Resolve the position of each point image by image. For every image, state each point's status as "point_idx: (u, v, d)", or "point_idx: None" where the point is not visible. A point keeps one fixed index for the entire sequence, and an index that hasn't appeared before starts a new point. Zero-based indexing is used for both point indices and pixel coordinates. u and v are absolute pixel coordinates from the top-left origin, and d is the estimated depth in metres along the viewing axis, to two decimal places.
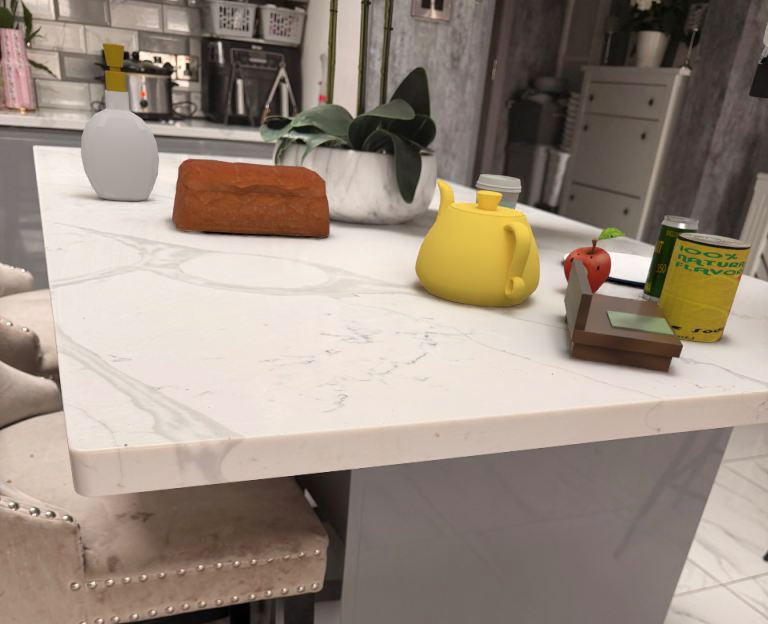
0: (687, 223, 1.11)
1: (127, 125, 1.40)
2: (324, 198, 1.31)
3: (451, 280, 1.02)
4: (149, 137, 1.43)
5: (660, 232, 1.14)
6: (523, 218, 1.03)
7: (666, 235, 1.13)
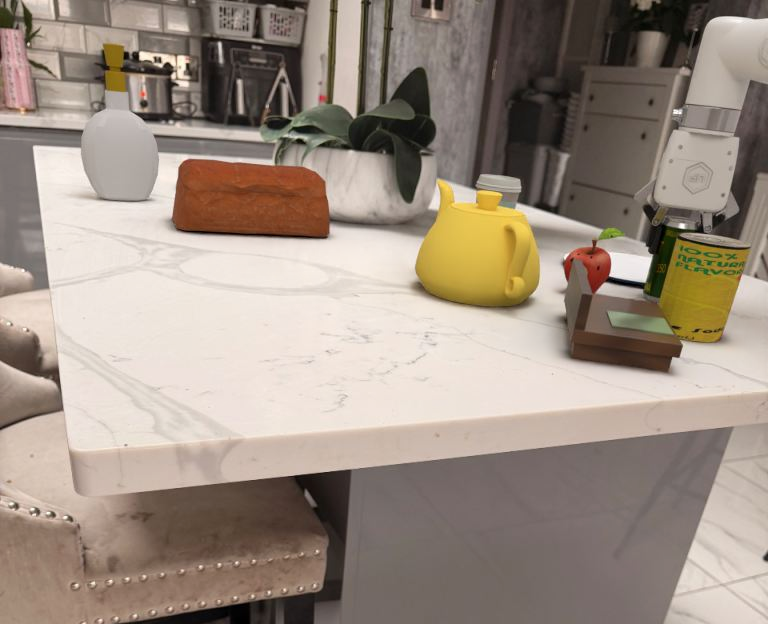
0: (687, 223, 1.11)
1: (127, 125, 1.40)
2: (324, 198, 1.31)
3: (451, 280, 1.02)
4: (149, 137, 1.43)
5: None
6: (523, 218, 1.03)
7: (666, 235, 1.13)
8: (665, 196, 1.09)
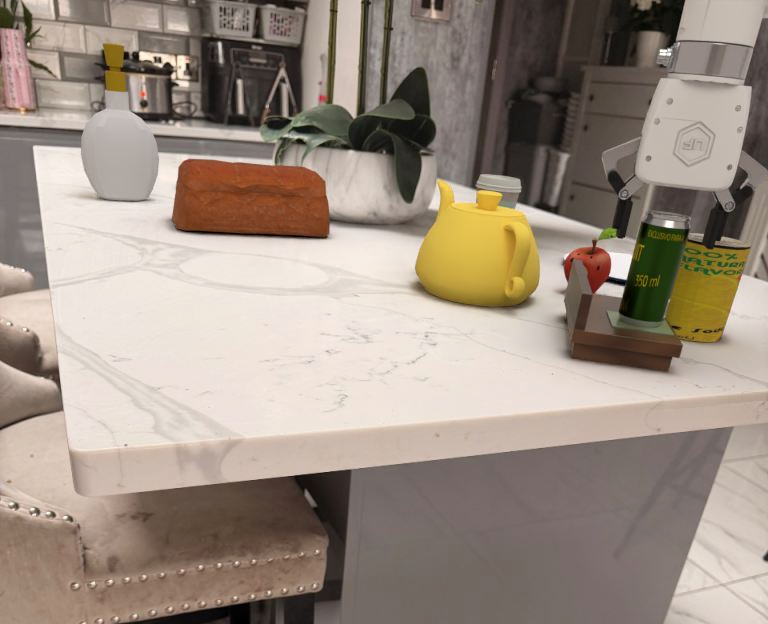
0: (675, 220, 0.82)
1: (127, 125, 1.40)
2: (324, 198, 1.31)
3: (451, 280, 1.02)
4: (149, 137, 1.43)
5: (640, 233, 0.85)
6: (523, 218, 1.03)
7: (648, 236, 0.84)
8: (650, 170, 0.80)
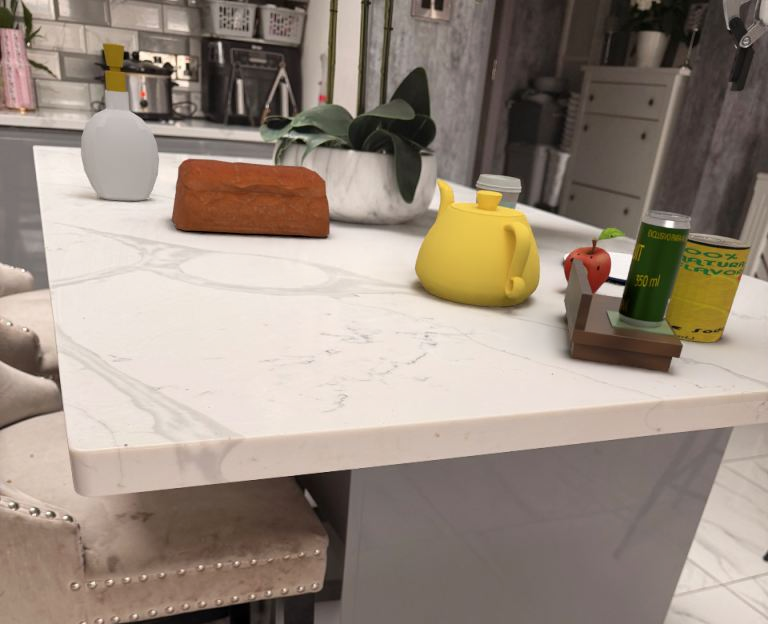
0: (676, 220, 0.82)
1: (127, 125, 1.40)
2: (324, 198, 1.31)
3: (451, 280, 1.02)
4: (149, 137, 1.43)
5: (640, 232, 0.85)
6: (523, 218, 1.03)
7: (648, 236, 0.84)
8: None
